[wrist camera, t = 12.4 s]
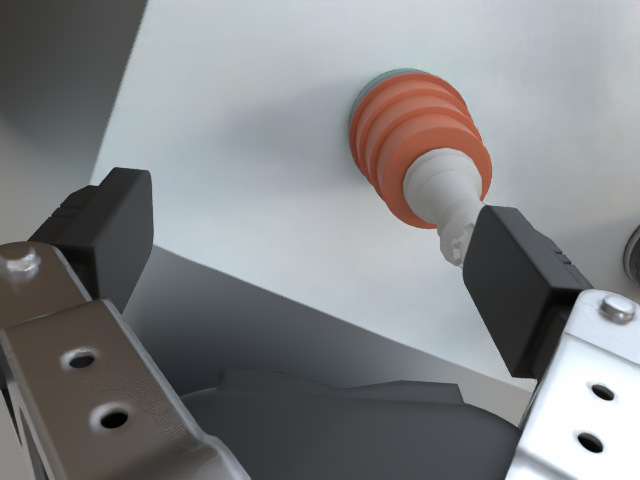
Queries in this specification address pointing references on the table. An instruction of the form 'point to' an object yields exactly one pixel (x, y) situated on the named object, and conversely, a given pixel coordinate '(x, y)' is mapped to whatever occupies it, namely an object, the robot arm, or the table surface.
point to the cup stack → (410, 133)
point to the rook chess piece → (446, 198)
